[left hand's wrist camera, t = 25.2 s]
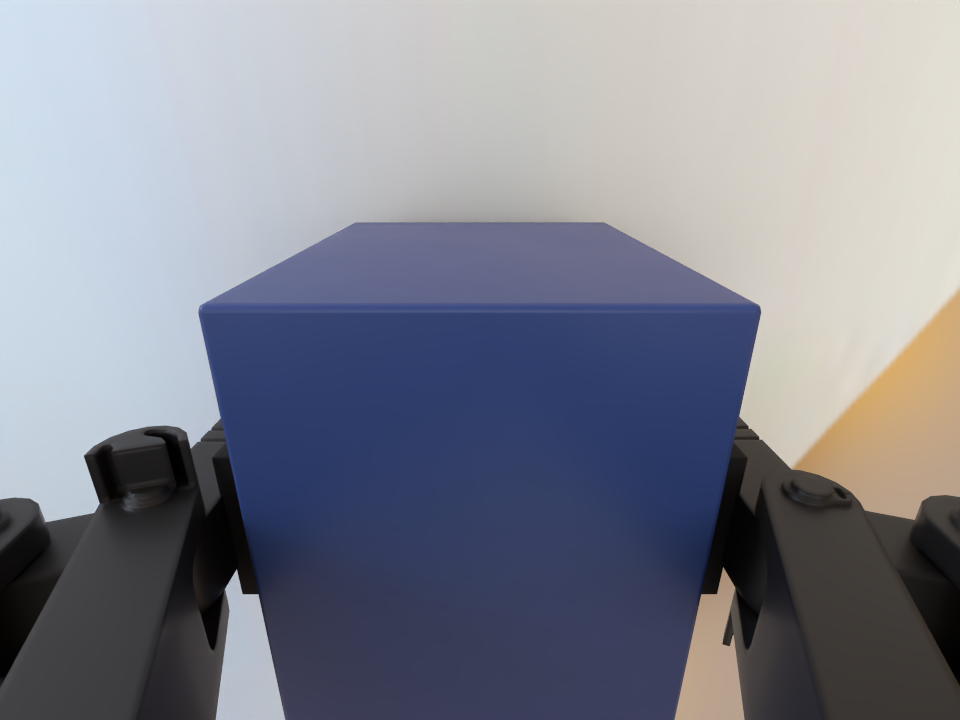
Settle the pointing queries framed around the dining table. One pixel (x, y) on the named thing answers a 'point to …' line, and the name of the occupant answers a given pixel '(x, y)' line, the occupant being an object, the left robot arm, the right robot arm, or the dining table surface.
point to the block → (479, 466)
